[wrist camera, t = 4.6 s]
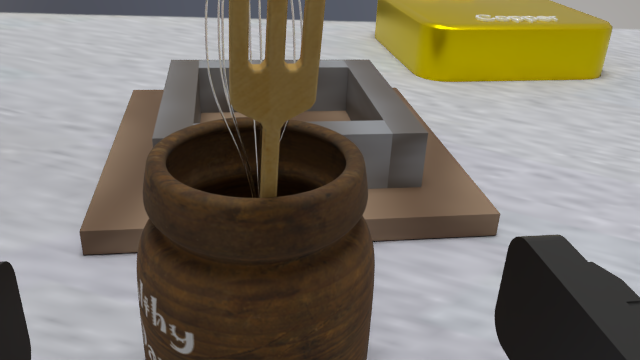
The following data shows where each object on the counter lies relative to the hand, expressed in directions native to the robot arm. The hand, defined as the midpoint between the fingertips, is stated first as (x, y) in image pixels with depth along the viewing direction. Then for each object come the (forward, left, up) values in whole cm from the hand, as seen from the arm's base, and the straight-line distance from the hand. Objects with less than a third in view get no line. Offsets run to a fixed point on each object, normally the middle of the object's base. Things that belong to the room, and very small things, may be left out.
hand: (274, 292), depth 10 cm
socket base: (+2, +20, -7) cm, 21 cm away
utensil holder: (0, +5, -7) cm, 8 cm away
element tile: (+21, +40, -7) cm, 45 cm away
